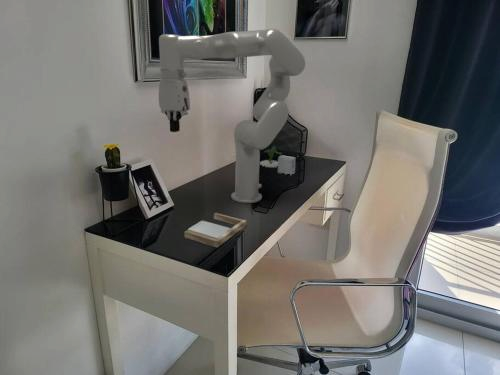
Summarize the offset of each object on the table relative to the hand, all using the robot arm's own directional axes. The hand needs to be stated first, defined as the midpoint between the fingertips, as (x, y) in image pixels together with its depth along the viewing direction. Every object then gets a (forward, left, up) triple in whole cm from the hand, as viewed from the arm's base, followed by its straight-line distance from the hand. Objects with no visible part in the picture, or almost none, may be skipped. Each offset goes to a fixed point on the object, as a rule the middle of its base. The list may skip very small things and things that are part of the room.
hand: (174, 131), depth 118 cm
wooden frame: (+8, +22, -29) cm, 37 cm away
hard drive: (+9, +21, -30) cm, 37 cm away
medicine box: (-66, +16, -29) cm, 74 cm away
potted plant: (-77, +2, -29) cm, 82 cm away
